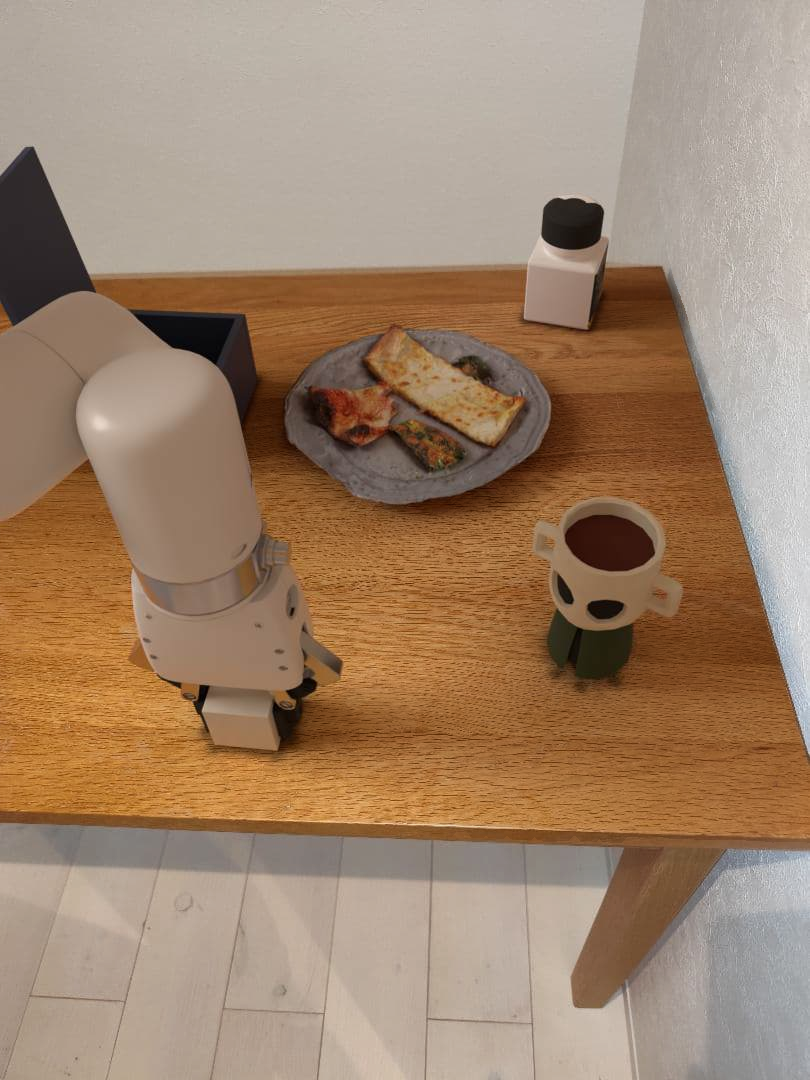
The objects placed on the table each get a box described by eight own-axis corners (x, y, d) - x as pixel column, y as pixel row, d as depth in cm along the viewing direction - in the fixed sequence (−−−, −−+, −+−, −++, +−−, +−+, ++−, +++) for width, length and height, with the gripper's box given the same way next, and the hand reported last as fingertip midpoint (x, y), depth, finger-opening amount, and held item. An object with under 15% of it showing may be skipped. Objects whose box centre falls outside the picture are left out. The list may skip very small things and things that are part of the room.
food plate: (241, 414, 87) (235, 385, 85) (419, 318, 97) (418, 290, 94) (409, 556, 74) (407, 528, 72) (595, 429, 84) (599, 400, 81)
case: (258, 378, 91) (245, 313, 85) (227, 464, 83) (210, 398, 77) (121, 372, 93) (99, 307, 87) (77, 455, 84) (49, 389, 78)
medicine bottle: (588, 331, 94) (603, 226, 85) (522, 321, 96) (530, 216, 87) (601, 295, 99) (616, 191, 90) (537, 285, 101) (546, 183, 92)
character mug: (501, 648, 68) (510, 534, 58) (547, 587, 72) (562, 470, 62) (633, 718, 64) (666, 608, 54) (674, 649, 67) (712, 534, 58)
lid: (33, 145, 75) (25, 146, 75) (-33, 222, 67) (-42, 222, 67) (101, 303, 86) (93, 304, 86) (52, 385, 78) (44, 386, 78)
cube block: (214, 745, 63) (201, 711, 60) (230, 689, 66) (218, 654, 63) (277, 751, 63) (268, 717, 59) (291, 695, 66) (282, 660, 62)
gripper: (358, 515, 52) (376, 684, 66) (83, 497, 54) (156, 665, 68) (336, 617, 48) (360, 777, 61) (34, 594, 49) (124, 754, 63)
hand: (252, 716), depth 64 cm, fingers closed on cube block, 4 cm apart
